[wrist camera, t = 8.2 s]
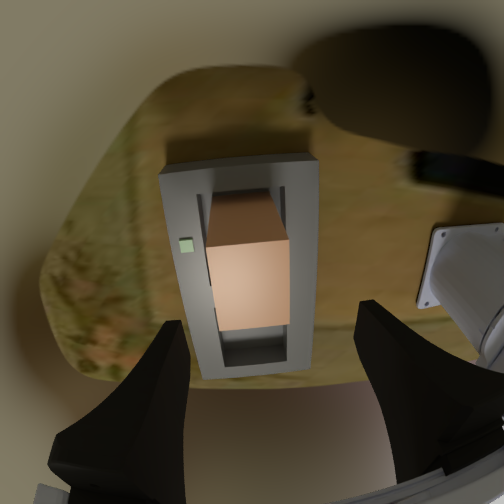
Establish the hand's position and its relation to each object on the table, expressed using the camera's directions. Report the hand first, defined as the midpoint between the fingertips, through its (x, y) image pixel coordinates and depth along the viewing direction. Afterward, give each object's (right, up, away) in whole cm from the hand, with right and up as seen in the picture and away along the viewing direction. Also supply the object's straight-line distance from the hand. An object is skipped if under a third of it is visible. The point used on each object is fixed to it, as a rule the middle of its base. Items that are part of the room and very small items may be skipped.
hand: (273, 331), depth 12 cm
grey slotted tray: (-1, +2, +11) cm, 11 cm away
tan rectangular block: (-1, +5, +9) cm, 10 cm away
